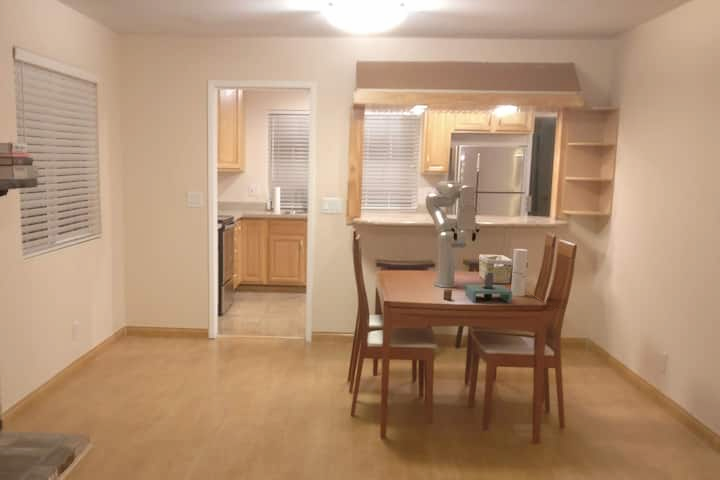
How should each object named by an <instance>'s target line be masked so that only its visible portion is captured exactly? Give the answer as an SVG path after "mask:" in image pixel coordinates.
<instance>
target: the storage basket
mask: <svg viewBox="0 0 720 480" xmlns="http://www.w3.org/2000/svg"><path fill="white" fill-rule="evenodd" d="M478 259H479V261H478V262H479V263H478V276H479V278H480V277H481V278H480V279H482V280H483V281H484V282H485V274H486V272H491V273H493V284H509V283H510V280H511V276H512V270H513V259H512V258H509V257H508V256H505V255H504V254H484V253H483V254H481V253H480V254H479V255H478Z"/></svg>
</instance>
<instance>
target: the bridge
mask: <svg viewBox="0 0 720 480" xmlns="http://www.w3.org/2000/svg"><path fill="white" fill-rule="evenodd" d="M479 294H480V295H484V294H492V295H499V297H500V298H501V299H502V300H503V301H505V302H507V304H512V302H513V301H512V299H513V295H512V291H511V290H510V289H509V288H508V287H506V286H505V285H498V284H493V288H492V289H485V284H470V283H469V284H466V285H465V296H466V297H467V298H468V300H469V301H471V302H472V303H476V302H477V301H476V300H477V295H479Z"/></svg>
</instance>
